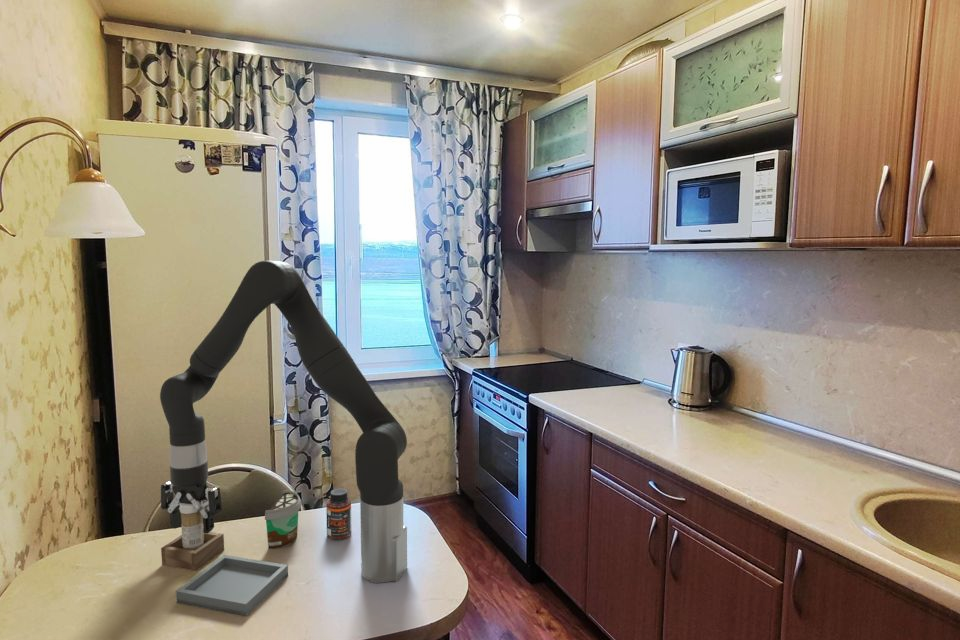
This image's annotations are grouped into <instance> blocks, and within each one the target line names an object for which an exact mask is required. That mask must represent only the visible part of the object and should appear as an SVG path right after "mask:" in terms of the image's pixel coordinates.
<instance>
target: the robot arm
mask: <svg viewBox="0 0 960 640" xmlns="http://www.w3.org/2000/svg"><path fill="white" fill-rule="evenodd" d="M272 304H273V305H274V306H276V308H277V309H278V310H279V311H280V313H281V314H282V315H283V317H284V318H285V320H286V321H287V322H288V324H289V326H290V328H291V330H292V332H293V336H294V340H295V345H296V348H297V351H298V355H299V358H300V361H301V362H302V364H303V366H304V368H305V369H306V371H307V372H308V374H309V376H310V377H311V378H312V380H313V381H314V383H315V384H316V385H317V386H318V387H319V389H320V390H321V391H323V393H324V394H326V395H327V396H328V397H329V398H330V399H332V400H334V401H335V402H336V403H338V404H339V405H340V406H341V407H343V408H344V409H346V410H347V412H349V414H350V415H351V416H352V417H353V419H354V420H355V422H356V424H357V425H358V426H359V428H360V430H361V432H362V434H361V435H360V436H359V437H358V439H357V441H356V445H355V453H354V457H355V458H354V460H355V476H356V477H355V478H356V486H357V489H358V491H359V498H360V501H359V502H360V503H359V504H360V505H359V506H360V557H361V558H360V560H361V562H360V568H361V576H362V578H363V579H365V580H366V581H369V582H371V583H376V584H377V583H380V584H381V583H387V582H388V583H389V582H397V581H399V579H400V578H401V577H402V575H403V574H404V572H405V570H406V569H407V568H408V527H407V526H405V525H404V524H405V523H404V484H403V482H402V481H401V480H400V479H399V459H400V458H401V457H402V456H403V454H404V453H405V451H406V449H407V445H408V438H407V434H406V432H405V430H404V428H403V426H402V425H401V423H400V422H399V421H398V420H397V419H396V417H394V415H393V414H392V413H391V412H390V411H389V409H388V408H387V407H386V405H384V404H383V402H382V401H381V399H380V398H379V396H377V395H376V393H375V391H374V389H373V388H372V387H371V385H370V383H369V382H368V380H367V379H366V377H365V376H364V375H363V373H362V371H361V370H360V369H359V367H358V366H357V364H356V362H355V359H354V358H353V357H352V356H351V354H350V353H349V351H348V350H347V348H346V347H345V346H344V344H343V342H342V341H341V339H339V337H338V335H336V333H335V331H334V330H333V328H332V327H331V325H330V324H329V323H328V321H327V319H326V318H325V317H324V315H323V314H322V313H321V312H320V310H319V308H318V307H317V305H316V304H315V302H314V300H313V298H312V296H311V294H310V292H309V290H308V287H306V285H305V282H304V281H303V279H302V276H301V275H300V273H299V272H298V271H297V269H296V268H295V267H294V266H293V265H291V264H289V263H287V262H286V261H280V260H270V259H269V260H261V261H257V262H255V263H254V264H252V265H251V266H250V267H249V269H248V270H247V271H246V273H245V275H244V276H243V279H242V280H241V281H240V284H239V286H238V287H237V290H236V291H235V293H234V295H233V297H232V299H231V300H230V302H229V303H228V305H227V307H226V308H225V310H224V311H223V313H222V315H221V316H220V318H219V319H218V321H216V323H215V325H214V326H213V327H212V329H211V330H210V331H209V332H208V333H207V335H206V336H205V337H204V339H203V340H202V341H201V342H200V343H199V344H198V345H197V347H196V348H195V350H194V351H193V352H192V354H191V356H190V357H189V364H190V365H189V366H188V368H187V369H185V370H184V371H183V372H182V373H180V374H176V375H173V376H171V377H169V378H168V379H166V380H165V381H164V382H163V383H162V385H161V387H160V392H159V398H160V399H159V400H160V405H161V407H162V411H163V413H164V416H165V419H166V421H167V424H168V427H169V429H168V432H169V453H168V454H169V455H168V456H169V459H168V460H169V474H170V480H169V481H166V482H165V483H163V484H161V485H160V508H161V510H163V511H164V510H167V512H168V513H169V520H170V521H169V522H170V526H171V529H174V530H175V529H178V528H179V527H180V526H181V524H182V520H181V512H180V503H186V504H193V505H194V507H195V508H196V510H197V511H200V513H201V514H202V519H203V532H204V533H209V532H213V529H214V528H215V516H216V515H219V514H220V513H221V512H222V511H223V507H222V506H223V505H222V497H221V490H220V487H219V486H215V487H211V488H210V487H208V485H207V481H208V478H209V468H208V467H209V464H208V461H209V460H208V448H207V447H208V446H207V442H206V432H205V431H206V426H205V425H206V424H205V420H204V417H203V415H201V414H200V413H196V412H195V410H194V409H195V408H194V403H196V402H199V401H200V400H202V399H203V398H204V397H206V395H208V393H209V392H210V391H211V389H212V388H213V386H214V385H215V383H216V381H217V379H218V377H219V375H220V373H221V372H222V371H223V370H224V369H225V367H226V366H227V365H228V364H229V363H230V361H231V360H232V359H233V357H234V356H235V355H236V354H237V352H238V351H239V349H240V348H241V346H242V344H243V341H244V339H245V336H246V334H247V332H248V330H249V328H250V327H251V325H252V324H253V322H254V321H255V319H256V318H257V317H258V316H259V315H260V314H261V313H262V312H263V311H264V310H266V309H267V308H268V307H269V306H270V305H272ZM174 495H175V496H174ZM201 502H202V504H200V503H201ZM181 527H182V526H181Z"/></svg>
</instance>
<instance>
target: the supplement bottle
mask: <svg viewBox="0 0 960 640" xmlns="http://www.w3.org/2000/svg"><path fill="white" fill-rule="evenodd" d="M329 494H330V496H329V497H330V498H329V499H328V500H327V502H326V536H327V537H328V538H329V539H330V540H334V541H340V540H341V541H342V540H344V539H347V538H349V537H350V536H351V534H352V501H351V499H350V498H349V497H348V491H347V489H345V488H334V489H332V490H331V491H330V493H329Z"/></svg>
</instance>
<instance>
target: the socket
mask: <svg viewBox="0 0 960 640" xmlns="http://www.w3.org/2000/svg"><path fill="white" fill-rule="evenodd" d="M224 538H225V537H224V533H220V532H213V531H210V532H209V533H204V545H202V546H201V547H200V548H198V549H197V550H195V551H193V550H187V549H183V543H182V534H181V535H180V536H178V537H176V538H175V539H173V540H171V541H170V542H168V543H167V544H165V545H163V546H162V547H160V554H161V566H166V567H172V568H178V569H182V570H187V571H188V570H189V571H193V572H194V571H195V572H197V571H198V570H199V569H201V568H203V567H204V566H205V565H206V564H208V563H209V562H210V561H212V560H213V559H215V558H216V557H217V556H218V555H220V554H222V552H224V551H225V539H224Z"/></svg>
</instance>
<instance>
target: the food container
mask: <svg viewBox="0 0 960 640" xmlns="http://www.w3.org/2000/svg"><path fill="white" fill-rule="evenodd" d="M301 501H302V500H301V498H300V496H299V494H298V493H297V492H295V491H292V490H287V489H284V490H282V495H281V496H280V497H279V498H278V499H277V500H276V501H275V502H274V503H273V504H272V506H271V508H269V509H268V510H267V509H266V510H264V511H265V512H264V520H265V522H266V523H265V524H266V537H267V546H268V547H267V548H268V549H269V550H271V549H273V550H274V549H280V548H283V547H287V546H289V545H291V544H292V543H294V542H295V541H296V540H297V538H298V532H299V531H298V529H299V528H298V527H299V510H300V509H301V507H302V502H301Z"/></svg>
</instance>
